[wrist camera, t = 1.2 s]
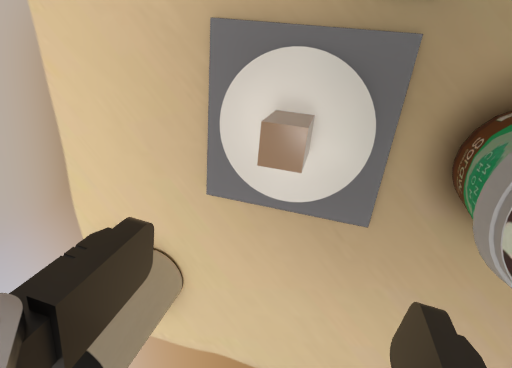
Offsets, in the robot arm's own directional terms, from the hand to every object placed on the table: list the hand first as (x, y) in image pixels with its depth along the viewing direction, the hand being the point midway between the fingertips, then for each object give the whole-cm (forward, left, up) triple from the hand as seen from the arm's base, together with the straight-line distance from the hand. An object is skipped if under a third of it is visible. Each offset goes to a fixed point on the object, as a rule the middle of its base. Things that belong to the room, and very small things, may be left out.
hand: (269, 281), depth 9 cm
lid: (+2, 0, -19) cm, 19 cm away
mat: (+2, 0, -19) cm, 19 cm away
